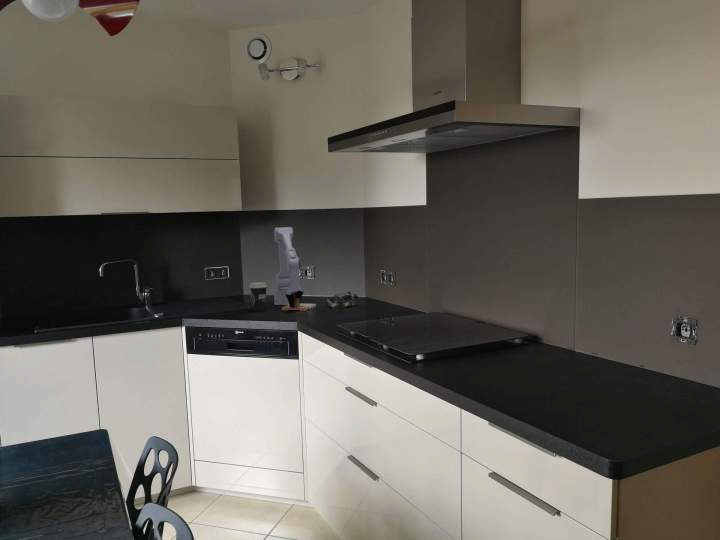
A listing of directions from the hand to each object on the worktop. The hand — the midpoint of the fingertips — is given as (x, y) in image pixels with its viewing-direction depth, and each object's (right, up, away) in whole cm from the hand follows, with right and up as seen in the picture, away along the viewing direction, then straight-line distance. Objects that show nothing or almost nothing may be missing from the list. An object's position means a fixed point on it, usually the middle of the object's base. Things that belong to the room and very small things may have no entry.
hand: (295, 305), depth 306 cm
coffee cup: (-19, -3, +2) cm, 20 cm away
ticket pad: (+2, -1, +8) cm, 8 cm away
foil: (+25, -1, +7) cm, 26 cm away
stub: (0, -2, +1) cm, 2 cm away
